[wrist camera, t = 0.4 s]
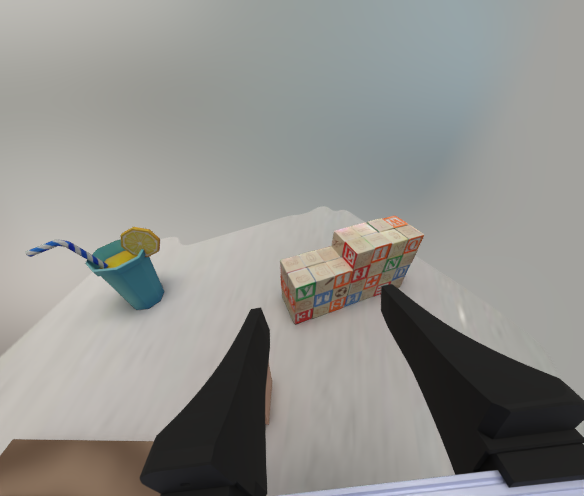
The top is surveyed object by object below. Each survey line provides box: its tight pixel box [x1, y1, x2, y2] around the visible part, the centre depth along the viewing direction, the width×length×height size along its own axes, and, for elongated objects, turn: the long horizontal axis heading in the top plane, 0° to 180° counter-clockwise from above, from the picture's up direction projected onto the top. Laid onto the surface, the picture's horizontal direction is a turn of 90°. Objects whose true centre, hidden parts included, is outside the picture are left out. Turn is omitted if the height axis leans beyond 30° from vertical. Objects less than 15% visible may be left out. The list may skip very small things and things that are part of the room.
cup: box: [25, 227, 164, 310], centre depth 34 cm, size 14×8×15 cm, turn 121°
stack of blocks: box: [280, 216, 424, 324], centre depth 35 cm, size 21×6×12 cm, turn 112°
